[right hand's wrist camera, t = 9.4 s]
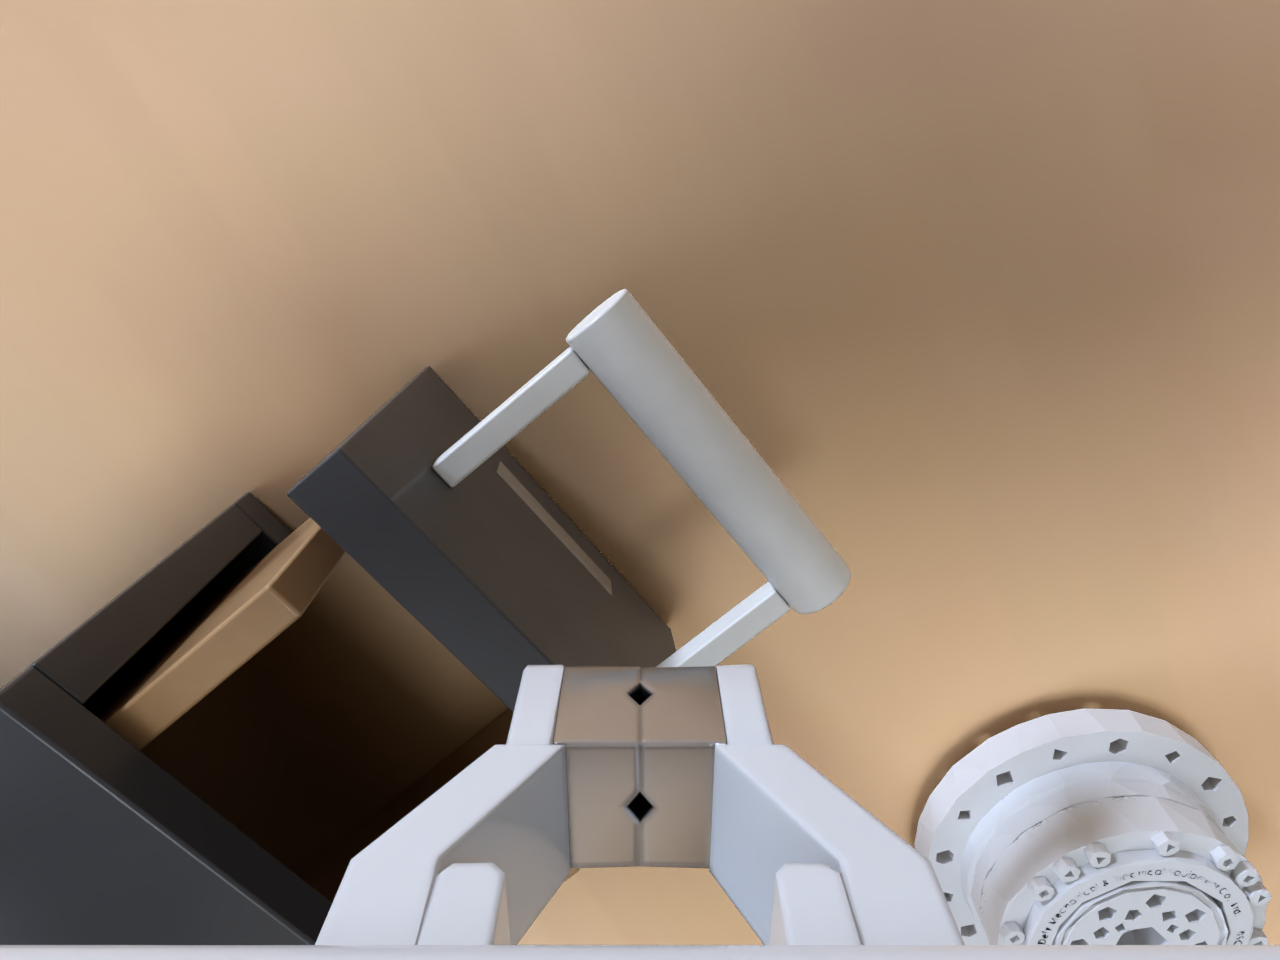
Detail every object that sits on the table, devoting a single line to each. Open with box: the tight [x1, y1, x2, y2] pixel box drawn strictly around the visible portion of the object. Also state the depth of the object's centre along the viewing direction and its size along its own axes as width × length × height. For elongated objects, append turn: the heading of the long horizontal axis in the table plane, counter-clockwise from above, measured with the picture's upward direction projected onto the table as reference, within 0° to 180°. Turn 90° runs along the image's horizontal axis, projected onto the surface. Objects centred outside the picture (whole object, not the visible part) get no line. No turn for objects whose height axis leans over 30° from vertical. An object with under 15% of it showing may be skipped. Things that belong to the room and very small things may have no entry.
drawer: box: [86, 289, 851, 903], centre depth 19 cm, size 19×10×8 cm, turn 129°
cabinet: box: [0, 492, 332, 945], centre depth 20 cm, size 16×11×10 cm
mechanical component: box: [914, 708, 1272, 945], centre depth 24 cm, size 10×4×10 cm
